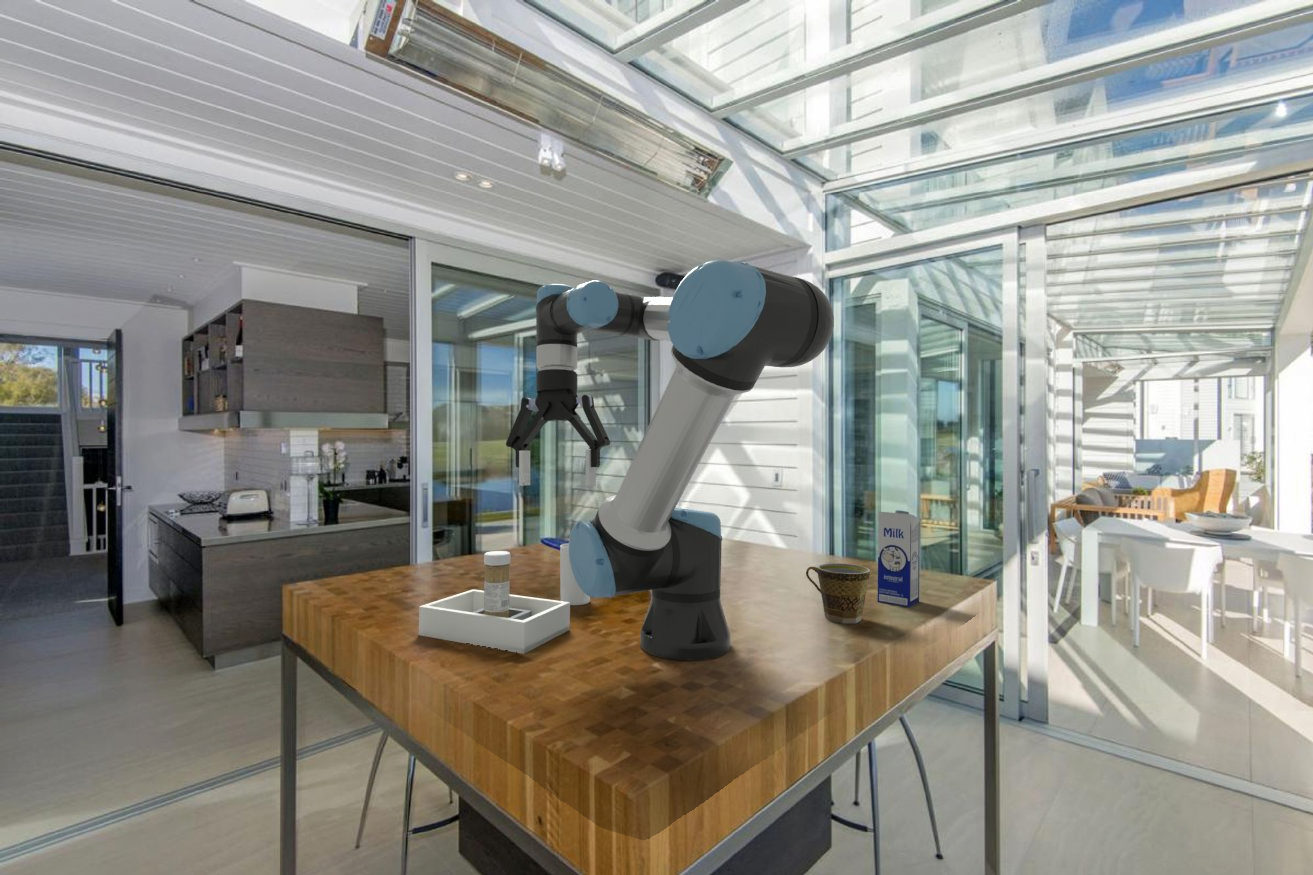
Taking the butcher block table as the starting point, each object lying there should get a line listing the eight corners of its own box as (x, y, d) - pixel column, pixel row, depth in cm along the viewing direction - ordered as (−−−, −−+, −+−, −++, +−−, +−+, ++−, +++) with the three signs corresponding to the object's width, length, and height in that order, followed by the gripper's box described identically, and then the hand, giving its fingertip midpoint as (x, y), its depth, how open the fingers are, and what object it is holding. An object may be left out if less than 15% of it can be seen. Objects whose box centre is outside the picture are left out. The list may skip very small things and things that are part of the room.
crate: (569, 629, 112) (569, 602, 112) (523, 653, 99) (524, 622, 99) (472, 614, 120) (472, 589, 120) (418, 635, 107) (419, 606, 107)
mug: (590, 605, 128) (591, 548, 128) (558, 606, 128) (558, 548, 128) (592, 594, 138) (592, 540, 138) (561, 594, 138) (562, 540, 138)
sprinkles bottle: (499, 622, 113) (500, 549, 113) (514, 627, 110) (515, 552, 110) (477, 628, 109) (478, 552, 109) (492, 633, 106) (494, 555, 106)
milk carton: (876, 601, 135) (877, 510, 135) (887, 596, 140) (888, 508, 140) (909, 607, 130) (910, 513, 130) (919, 601, 135) (920, 510, 136)
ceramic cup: (877, 618, 122) (878, 568, 122) (856, 629, 114) (857, 575, 114) (817, 606, 130) (817, 559, 130) (793, 616, 123) (794, 565, 123)
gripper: (627, 369, 113) (627, 485, 113) (509, 376, 122) (509, 484, 121) (611, 364, 106) (611, 487, 106) (487, 371, 114) (487, 485, 114)
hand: (557, 485), depth 113 cm, fingers open, 13 cm apart
